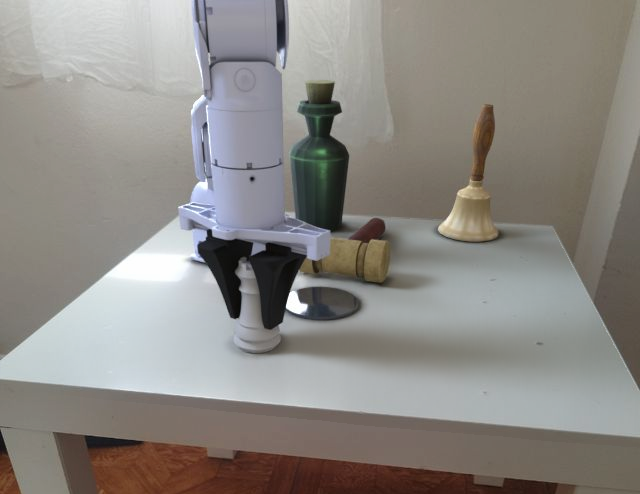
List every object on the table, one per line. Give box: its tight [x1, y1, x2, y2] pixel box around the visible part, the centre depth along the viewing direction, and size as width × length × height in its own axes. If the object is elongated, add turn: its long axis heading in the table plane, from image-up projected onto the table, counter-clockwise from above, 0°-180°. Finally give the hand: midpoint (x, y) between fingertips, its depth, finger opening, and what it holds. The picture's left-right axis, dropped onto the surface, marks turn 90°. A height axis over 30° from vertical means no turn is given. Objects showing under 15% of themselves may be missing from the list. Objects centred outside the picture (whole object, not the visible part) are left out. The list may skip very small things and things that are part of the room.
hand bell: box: [437, 103, 499, 243], centre depth 81 cm, size 8×8×16 cm
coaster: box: [285, 286, 359, 321], centre depth 65 cm, size 8×8×1 cm
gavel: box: [299, 217, 391, 284], centre depth 77 cm, size 21×5×10 cm
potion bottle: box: [289, 79, 350, 231], centre depth 83 cm, size 8×8×18 cm
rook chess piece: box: [233, 257, 282, 354], centre depth 55 cm, size 4×4×8 cm
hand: (256, 319), depth 56 cm, fingers closed on rook chess piece, 3 cm apart
